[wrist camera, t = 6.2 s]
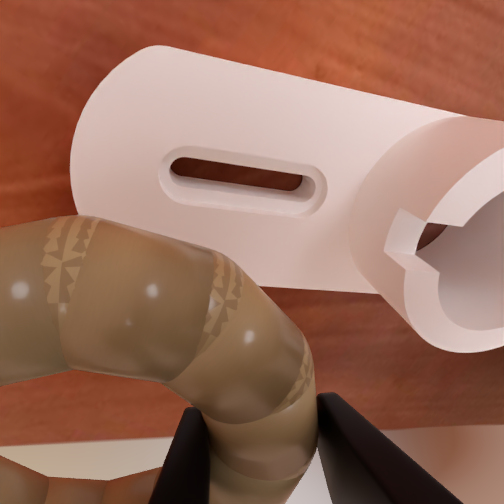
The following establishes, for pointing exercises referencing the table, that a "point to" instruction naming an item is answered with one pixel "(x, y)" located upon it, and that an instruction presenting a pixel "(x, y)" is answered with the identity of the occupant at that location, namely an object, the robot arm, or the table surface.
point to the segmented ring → (158, 351)
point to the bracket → (306, 185)
